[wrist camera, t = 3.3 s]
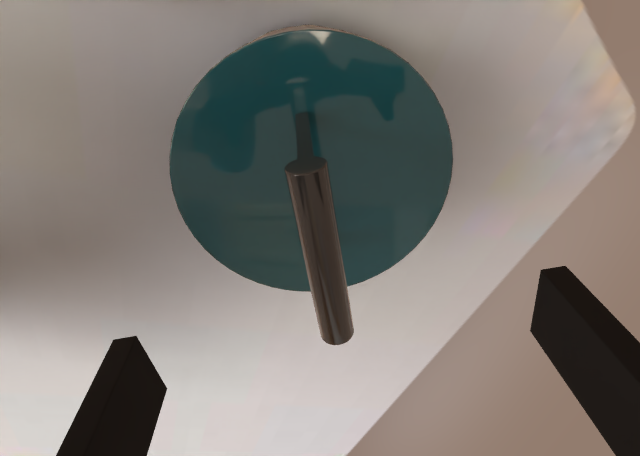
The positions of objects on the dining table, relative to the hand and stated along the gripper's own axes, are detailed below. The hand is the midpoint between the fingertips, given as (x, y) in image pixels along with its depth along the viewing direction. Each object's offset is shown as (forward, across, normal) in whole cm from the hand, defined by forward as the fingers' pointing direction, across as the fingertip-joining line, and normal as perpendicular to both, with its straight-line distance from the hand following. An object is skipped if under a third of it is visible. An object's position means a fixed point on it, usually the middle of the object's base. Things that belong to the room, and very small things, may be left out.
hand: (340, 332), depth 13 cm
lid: (+13, 0, 0) cm, 13 cm away
